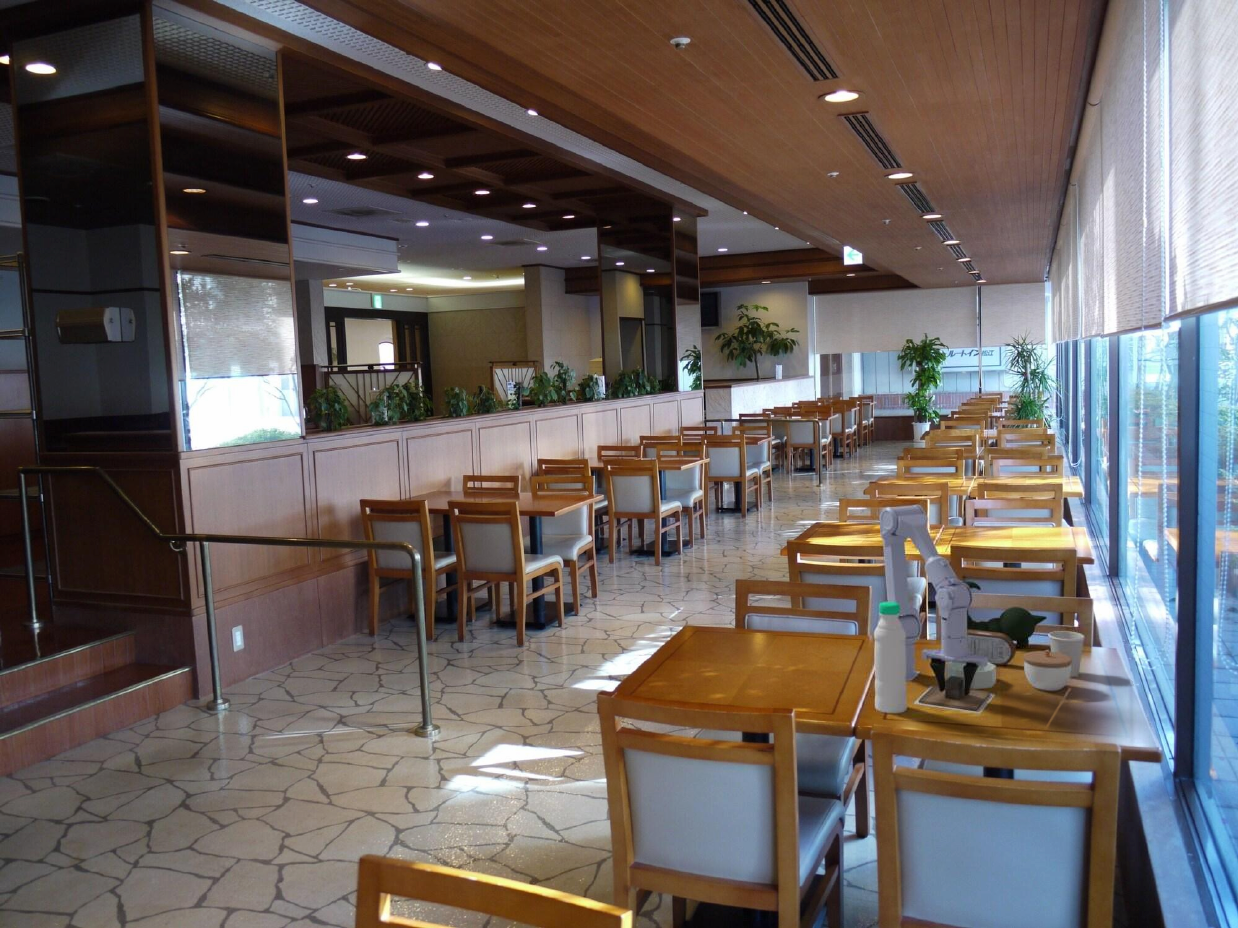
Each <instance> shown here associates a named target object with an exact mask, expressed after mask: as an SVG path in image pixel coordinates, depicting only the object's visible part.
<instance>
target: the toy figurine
mask: <svg viewBox="0 0 1238 928" xmlns="http://www.w3.org/2000/svg"><path fill="white" fill-rule="evenodd" d="M962 582H963V581H962ZM963 583H965V584H967V585H968V586H969V587H970V590H971V589H976V590H978V591H981V586H980V585H979V584H978V583H976V582H975V581H964V582H963ZM1046 619H1048V618H1047V616H1045V615H1038V614H1032V613H1031V612H1030V611H1028V610H1027V609H1025V608H1023V607H1019V606H1012V607H1009V608H1006V609H1005V610H1004V611H1003V612H1002V613H1001V614H1000V615H999V617H992V618H990V619H988V620H987V621H984V620H982V621H981V620H980V621H976V620H973V618H972V617H971V615H969V610H968V609H967V630H978V631H987V632H996V633H1002V634H1005V635H1007V636H1008V637H1010V638H1011V639H1012V641H1013V642H1016V645H1017V646H1018V647H1019V648H1021V647H1025V648H1027V647H1028V646H1029V642H1030V640H1029V639H1030V638H1031V637H1032V636H1033V634H1034V633H1035V630H1036V627H1037V625H1039V624H1040V623H1042V622H1043V621H1045V620H1046Z"/></svg>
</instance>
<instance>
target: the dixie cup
mask: <svg viewBox="0 0 1238 928" xmlns="http://www.w3.org/2000/svg"><path fill="white" fill-rule="evenodd" d="M1047 635H1048V637H1049V643H1050V645H1049V646H1050V652H1057V653H1061V654H1065V655H1067V656H1069V657H1071V659H1072V664H1071V675H1070V678H1076V677H1075V676H1077V677H1079V675H1080V668H1081V667H1080V666H1081V660H1082V654H1083V648H1084V647H1083V646H1084V639H1085V635H1084V634H1082V633H1079V632H1075V631H1069V630H1068V631H1067V630H1054V631H1052V632H1051V631H1050V632H1049V633H1048V634H1047Z"/></svg>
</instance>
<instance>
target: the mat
mask: <svg viewBox="0 0 1238 928" xmlns="http://www.w3.org/2000/svg"><path fill="white" fill-rule="evenodd" d="M933 686H934V685H930V686H929V687H928V688H927V690H925V692H924V693H923V694H921V695H920V696H919V697H918V698H917V699H916V700H915V701H914V702H913V703H912V704H913V705H920V706H926V707H932V708H940V709H947V710H953V711H958V712H965V713H966V712H967V713H973V714H979V715H980V714H981V713H982V712H983V711H984V709H985V708H986V707H987V706H988V705H989V703H990V702H991V701H992V700H993V699H994V697H995V696H996V694H994V693H990V696H989V697H988V698H987V699H986V701H985V702H984V703H983V704H982V705H981V707H980V708H979V709H978V710H977V711H970V710H963V709H956V708H950V707H943V706H936V705H929V704H923V703H919V699H920V698H921V697H922V696H923V695H924V694H925V693H926V692H927V691H928V690H929V689H930V688H931V687H933Z"/></svg>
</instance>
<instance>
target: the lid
mask: <svg viewBox="0 0 1238 928" xmlns="http://www.w3.org/2000/svg"><path fill="white" fill-rule="evenodd" d="M932 686H933V687H931V686H930V687H931V688H930V687H929V688H930V689H929V688H928V689H929V690H928V689H927V690H928V691H927V690H926V691H927V692H926V691H925V692H926V693H925V692H924V693H925V694H924V693H923V694H924V695H923V696H922V697H921V698H920V699H919V703H923V704H929V705H936V706H943V707H950V708H956V709H963V710H970V711H977V710H978V709H979V708H980V707H981V705H982V704H983V703H984V702H985V701H986V699H987V698H988V697H989V696H990V694H991V692H990V691H983V690H978V689H970V693H969V694H968V695H964V677H957V676H950V677H949V678H948V679H947V680H946V679H945V690H944V691H943V692H940V690H939V685H938V684H933V685H932Z"/></svg>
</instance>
